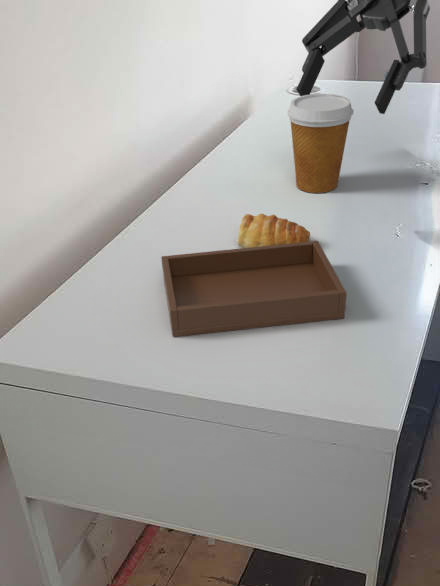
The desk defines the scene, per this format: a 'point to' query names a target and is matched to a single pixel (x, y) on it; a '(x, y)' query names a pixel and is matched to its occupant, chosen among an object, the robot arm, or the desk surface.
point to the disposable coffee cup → (319, 139)
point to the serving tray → (251, 288)
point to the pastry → (269, 231)
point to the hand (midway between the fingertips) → (339, 101)
